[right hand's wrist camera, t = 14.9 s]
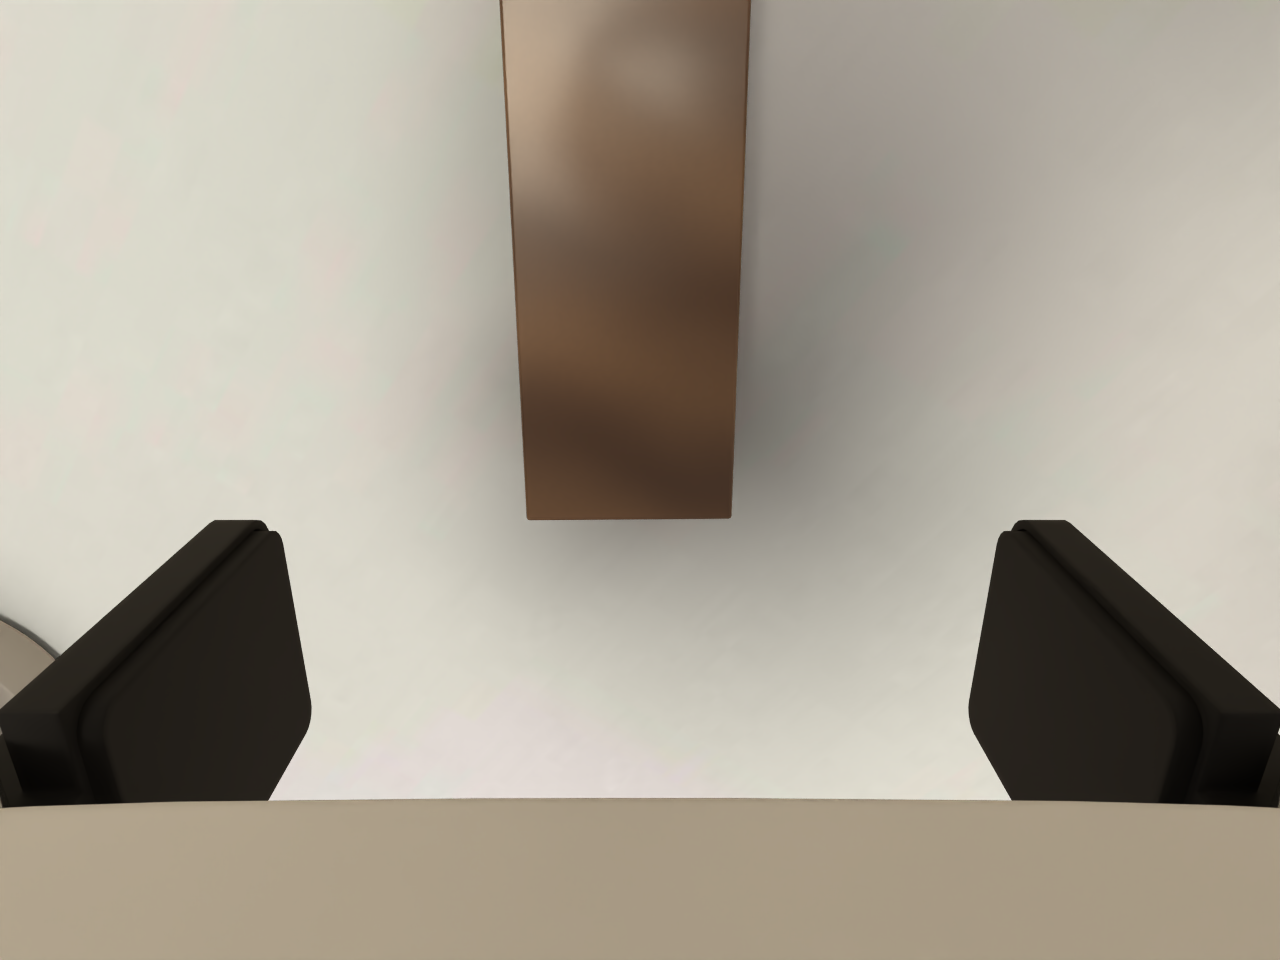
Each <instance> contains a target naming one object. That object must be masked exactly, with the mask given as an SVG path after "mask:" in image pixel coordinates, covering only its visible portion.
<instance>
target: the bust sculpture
mask: <svg viewBox="0 0 1280 960" xmlns="http://www.w3.org/2000/svg"><path fill="white" fill-rule="evenodd" d="M54 661H55V659H54V658H53V657H52V656H51V655H50V654H49V653H48V652H46V651H45V650H44V649H43V648H42V647H41V646H39V645H38V644H37V643H36V642H34V641H33V640H32V639H30V638H29V637H27V636H26V635H24V634H23V633H21V632H20V631H18V630H17V629H15V628H13V627H12V626H10V625H8V624H6V623H4V622H2V621H0V709H1V708H2V707H3V706H4V705H5V704H6V703H7V702H9V701H10V700H11V699H12V698H13V697H14V696H15V695H16V694H18V693H19V692H20V691H21V690H22V689H23V688H24V687H25V686H27V685H28V684H29V683H30V682H31V681H32V680H33V679H34V678H36V677H37V676H38V675H39V674H40V673H41V672H42V671H43V670H45V669H46V668H47V667H48V666H49V665H50V664H51V663H53V662H54ZM1 734H2V731H1V728H0V735H1Z"/></svg>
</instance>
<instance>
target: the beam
mask: <svg viewBox="0 0 1280 960" xmlns="http://www.w3.org/2000/svg"><path fill="white" fill-rule="evenodd" d="M499 1H500V20H501V39H502V58H503V77H504V95H505V114H506V133H507V152H508V171H509V190H510V209H511V228H512V247H513V266H514V285H515V304H516V323H517V342H518V361H519V380H520V399H521V418H522V437H523V456H524V475H525V494H526V513H527V519H528V520H609V519H729V518H731V516H732V490H733V464H734V437H735V411H736V384H737V358H738V331H739V305H740V279H741V252H742V226H743V199H744V173H745V146H746V120H747V94H748V67H749V41H750V14H751V0H499Z"/></svg>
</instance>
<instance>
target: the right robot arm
mask: <svg viewBox="0 0 1280 960" xmlns="http://www.w3.org/2000/svg"><path fill="white" fill-rule="evenodd" d="M311 708H312V707H311V699H310V693H309V687H308V682H307V676H306V670H305V665H304V659H303V654H302V648H301V642H300V637H299V631H298V625H297V620H296V614H295V608H294V603H293V597H292V592H291V586H290V580H289V575H288V569H287V563H286V558H285V552H284V546H283V542H282V538H281V537H280V535H279V533H277V532H276V531H269V530H268V528H267V526H266V525H265V523H263V522H262V521H261V520H214V521H213V522H211V523H209V524H208V525H207V526H206V527H205V528H204V529H203V530H201V531H200V532H199V533H198V534H197V535H196V536H195V537H194V538H192V539H191V540H190V541H189V542H188V543H187V544H186V545H185V546H183V547H182V548H181V549H180V550H179V551H178V552H177V553H175V554H174V555H173V556H172V557H171V558H170V559H169V560H168V561H166V562H165V563H164V564H163V565H162V566H161V567H160V568H159V569H157V570H156V571H155V572H154V573H153V574H152V575H151V576H150V577H148V578H147V579H146V580H145V581H144V582H143V583H142V584H141V585H139V586H138V587H137V588H136V589H135V590H134V591H133V592H131V593H130V594H129V595H128V596H127V597H126V598H125V599H124V600H122V601H121V602H120V603H119V604H118V605H117V606H116V607H115V608H113V609H112V610H111V611H110V612H109V613H108V614H107V615H106V616H104V617H103V618H102V619H101V620H100V621H99V622H98V623H97V624H95V625H94V626H93V627H92V628H91V629H90V630H89V631H87V632H86V633H85V634H84V635H83V636H82V637H81V638H80V639H78V640H77V641H76V642H75V643H74V644H73V645H72V646H71V647H69V648H68V649H67V650H66V651H65V652H64V653H63V654H62V655H60V656H59V657H58V658H57V659H56V660H55V661H54V662H53V663H51V664H50V665H49V666H48V667H47V668H46V669H45V670H43V671H42V672H41V673H40V674H39V675H38V676H37V677H36V678H34V679H33V680H32V681H31V682H30V683H29V684H28V685H27V686H25V687H24V688H23V689H22V690H21V691H20V692H19V693H18V694H16V695H15V696H14V697H13V698H12V699H11V700H10V701H9V702H7V703H6V704H5V705H4V706H3V707H2V708H1V709H0V728H1V731H2V734H1V735H0V960H1280V735H1279V734H1278V731H1279V728H1280V709H1279V708H1278V707H1277V706H1276V705H1275V704H1274V703H1273V702H1271V701H1270V700H1269V699H1268V698H1267V697H1266V696H1265V695H1264V694H1262V693H1261V692H1260V691H1259V690H1258V689H1257V688H1256V687H1255V686H1253V685H1252V684H1251V683H1250V682H1249V681H1248V680H1247V679H1246V678H1244V677H1243V676H1242V675H1241V674H1240V673H1239V672H1238V671H1237V670H1235V669H1234V668H1233V667H1232V666H1231V665H1230V664H1229V663H1227V662H1226V661H1225V660H1224V659H1223V658H1222V657H1221V656H1220V655H1218V654H1217V653H1216V652H1215V651H1214V650H1213V649H1212V648H1211V647H1209V646H1208V645H1207V644H1206V643H1205V642H1204V641H1203V640H1202V639H1200V638H1199V637H1198V636H1197V635H1196V634H1195V633H1194V632H1193V631H1191V630H1190V629H1189V628H1188V627H1187V626H1186V625H1185V624H1183V623H1182V622H1181V621H1180V620H1179V619H1178V618H1177V617H1176V616H1174V615H1173V614H1172V613H1171V612H1170V611H1169V610H1168V609H1167V608H1165V607H1164V606H1163V605H1162V604H1161V603H1160V602H1159V601H1158V600H1156V599H1155V598H1154V597H1153V596H1152V595H1151V594H1150V593H1149V592H1147V591H1146V590H1145V589H1144V588H1143V587H1142V586H1141V585H1139V584H1138V583H1137V582H1136V581H1135V580H1134V579H1133V578H1132V577H1130V576H1129V575H1128V574H1127V573H1126V572H1125V571H1124V570H1123V569H1121V568H1120V567H1119V566H1118V565H1117V564H1116V563H1115V562H1114V561H1112V560H1111V559H1110V558H1109V557H1108V556H1107V555H1106V554H1105V553H1103V552H1102V551H1101V550H1100V549H1099V548H1098V547H1097V546H1095V545H1094V544H1093V543H1092V542H1091V541H1090V540H1089V539H1088V538H1086V537H1085V536H1084V535H1083V534H1082V533H1081V532H1080V531H1079V530H1077V529H1076V528H1075V527H1074V526H1073V525H1072V524H1071V523H1069V522H1067V521H1066V520H1019V521H1018V522H1017V523H1015V524H1014V526H1013V528H1012V530H1011V531H1004V532H1003V533H1001V535H1000V537H999V538H998V542H997V546H996V552H995V558H994V563H993V569H992V575H991V580H990V586H989V592H988V597H987V603H986V608H985V614H984V620H983V625H982V631H981V637H980V642H979V648H978V654H977V659H976V665H975V670H974V676H973V682H972V687H971V693H970V699H969V707H968V708H969V720H970V724H971V728H972V730H973V732H974V734H975V736H976V738H977V740H978V741H979V743H980V745H981V747H982V749H983V750H984V752H985V754H986V756H987V757H988V759H989V761H990V763H991V765H992V766H993V768H994V770H995V772H996V773H997V775H998V777H999V779H1000V780H1001V782H1002V784H1003V786H1004V788H1005V789H1006V791H1007V793H1008V795H1009V796H1010V798H1011V800H1012V801H998V800H885V799H770V798H471V799H381V800H291V801H268V800H269V798H270V796H271V795H272V793H273V791H274V789H275V788H276V786H277V784H278V782H279V780H280V779H281V777H282V775H283V773H284V772H285V770H286V768H287V766H288V765H289V763H290V761H291V759H292V757H293V756H294V754H295V752H296V750H297V749H298V747H299V745H300V743H301V741H302V740H303V738H304V736H305V734H306V732H307V730H308V728H309V724H310V720H311Z"/></svg>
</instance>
